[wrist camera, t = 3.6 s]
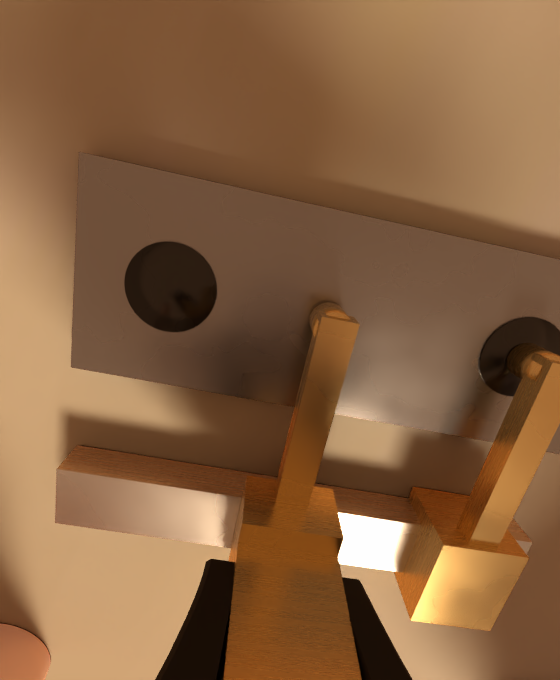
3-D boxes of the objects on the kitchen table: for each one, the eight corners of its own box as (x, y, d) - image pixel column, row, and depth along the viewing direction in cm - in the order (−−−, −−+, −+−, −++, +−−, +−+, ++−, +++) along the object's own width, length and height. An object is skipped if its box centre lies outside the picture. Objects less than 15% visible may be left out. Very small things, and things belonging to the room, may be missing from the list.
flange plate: (628, 276, 11) (650, 279, 10) (545, 442, 12) (561, 454, 12) (90, 155, 9) (77, 151, 9) (81, 359, 11) (69, 368, 10)
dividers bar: (591, 350, 11) (672, 384, 9) (483, 567, 14) (525, 635, 12) (86, 247, 10) (32, 256, 8) (74, 507, 13) (31, 570, 10)
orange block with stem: (379, 312, 10) (556, 467, 4) (302, 567, 13) (332, 900, 7) (284, 293, 10) (306, 423, 4) (227, 557, 13) (183, 892, 6)
